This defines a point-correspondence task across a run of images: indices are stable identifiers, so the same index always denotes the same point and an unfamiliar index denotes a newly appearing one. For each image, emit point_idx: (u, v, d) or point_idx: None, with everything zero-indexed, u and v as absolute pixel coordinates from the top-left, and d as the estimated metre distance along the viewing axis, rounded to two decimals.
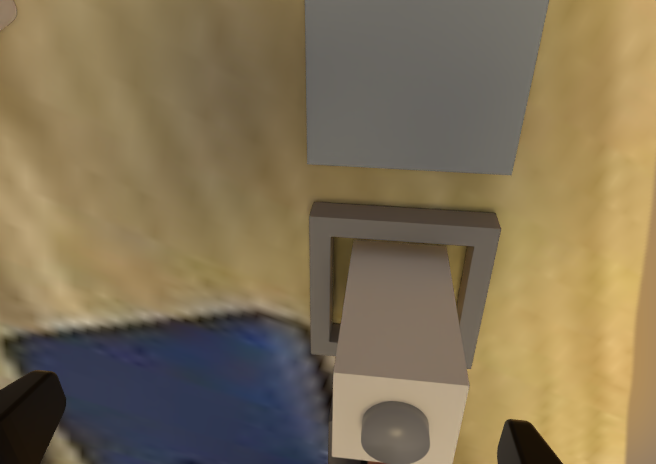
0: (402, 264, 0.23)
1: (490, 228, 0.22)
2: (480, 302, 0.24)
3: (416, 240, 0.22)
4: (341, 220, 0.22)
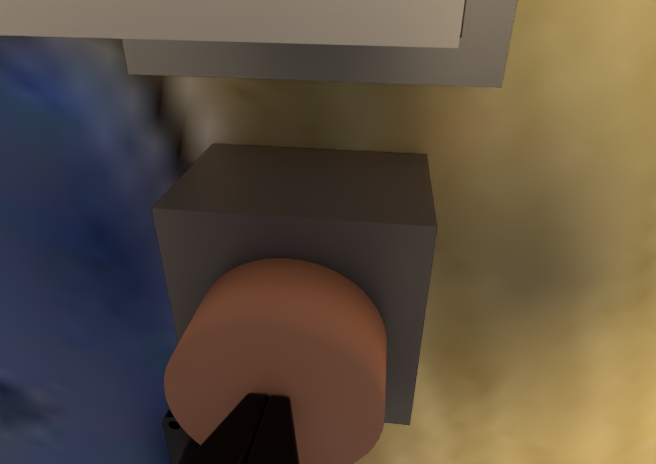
0: None
1: None
2: None
3: None
4: None
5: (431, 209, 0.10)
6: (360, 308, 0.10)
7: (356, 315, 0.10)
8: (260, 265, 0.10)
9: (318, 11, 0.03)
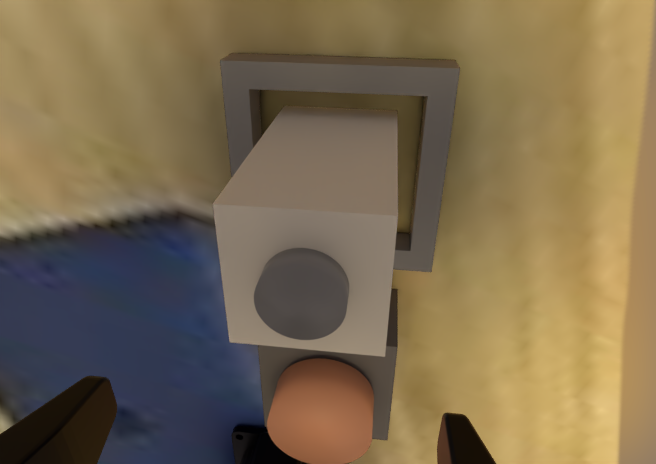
0: (338, 122, 0.18)
1: (446, 68, 0.17)
2: (438, 177, 0.19)
3: (355, 90, 0.18)
4: (260, 65, 0.18)
5: (395, 334, 0.21)
6: (360, 384, 0.20)
7: (358, 388, 0.20)
8: (312, 362, 0.21)
9: (350, 347, 0.14)
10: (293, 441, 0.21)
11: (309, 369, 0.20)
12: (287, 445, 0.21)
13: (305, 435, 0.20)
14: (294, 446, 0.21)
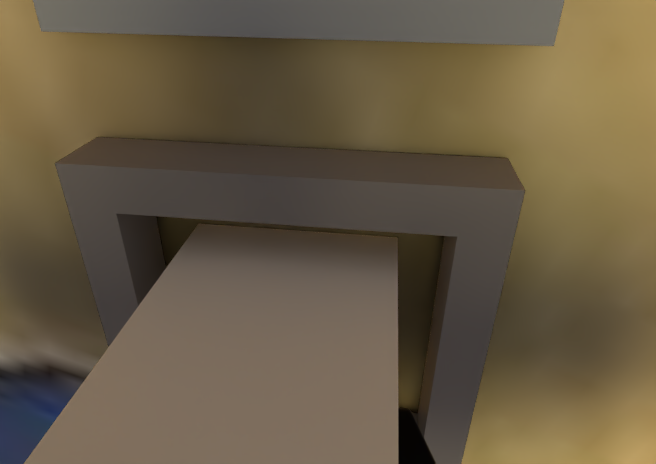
0: (284, 280, 0.09)
1: (497, 189, 0.08)
2: (473, 365, 0.10)
3: (315, 222, 0.09)
4: (133, 173, 0.09)
5: None
6: None
7: None
8: None
9: None
10: None
11: None
12: None
13: None
14: None
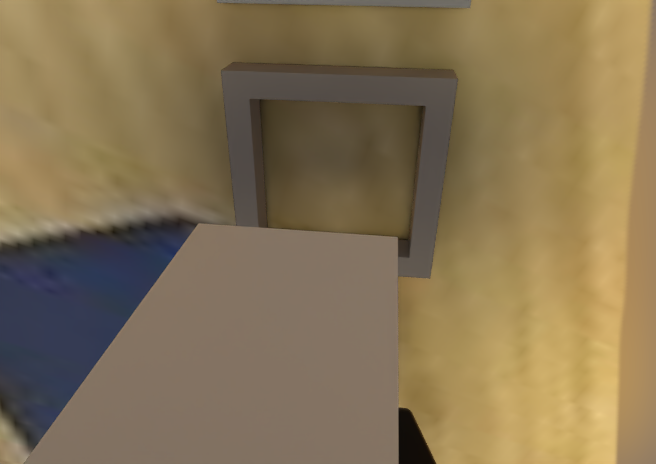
0: (284, 280, 0.09)
1: (444, 79, 0.17)
2: (437, 185, 0.19)
3: (354, 100, 0.18)
4: (261, 75, 0.18)
5: None
6: None
7: None
8: None
9: None
10: None
11: None
12: None
13: None
14: None
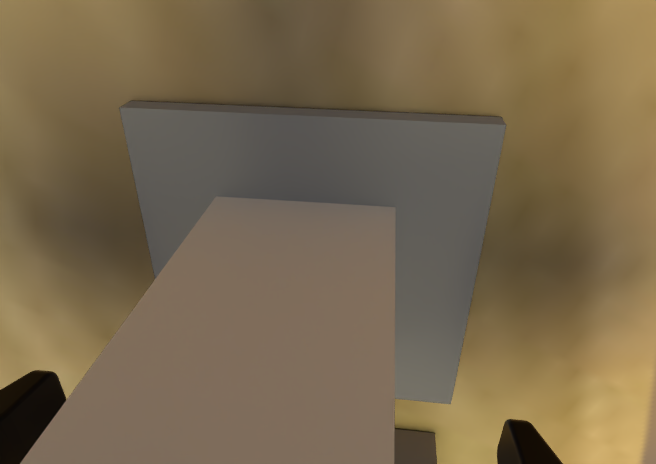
0: (295, 241, 0.11)
1: None
2: None
3: None
4: None
5: None
6: None
7: None
8: None
9: None
10: None
11: None
12: None
13: None
14: None
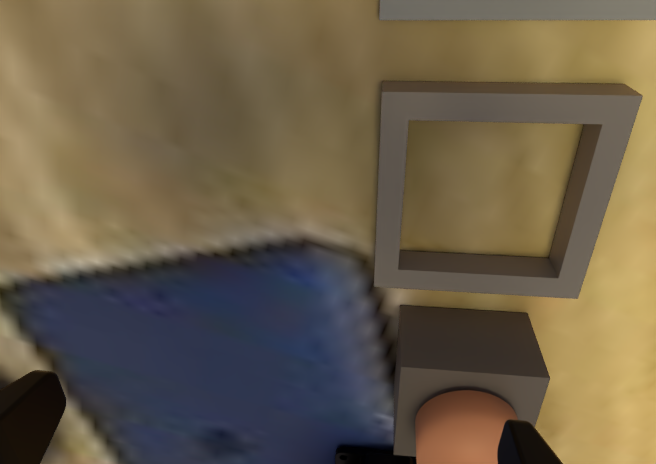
0: None
1: (627, 96, 0.16)
2: (601, 205, 0.18)
3: (524, 119, 0.17)
4: (424, 96, 0.17)
5: (543, 364, 0.20)
6: (511, 416, 0.20)
7: None
8: (459, 395, 0.20)
9: None
10: None
11: (459, 402, 0.20)
12: None
13: None
14: None
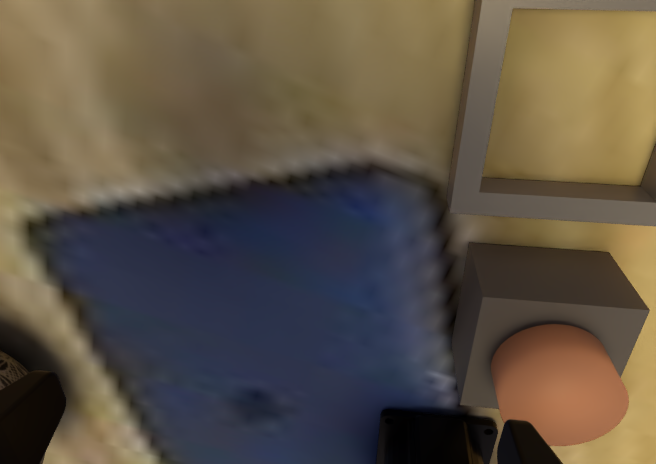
0: None
1: None
2: None
3: (643, 7, 0.15)
4: None
5: (639, 297, 0.19)
6: (605, 352, 0.18)
7: (607, 357, 0.18)
8: (548, 328, 0.18)
9: None
10: (526, 417, 0.18)
11: (549, 335, 0.18)
12: None
13: (544, 410, 0.18)
14: None
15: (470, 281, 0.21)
